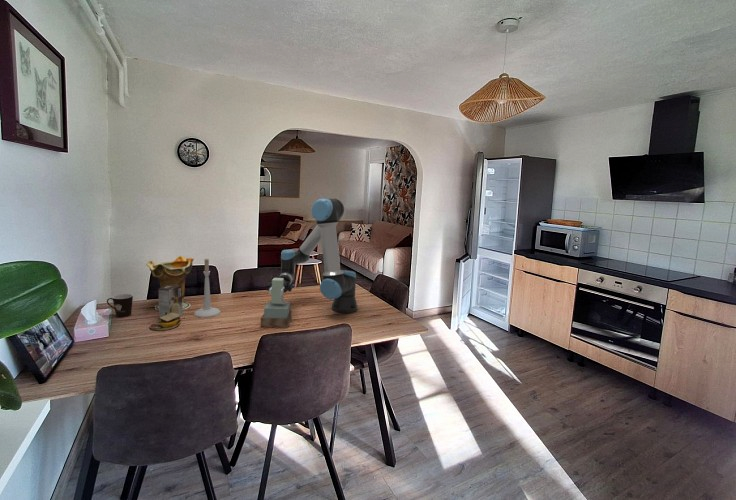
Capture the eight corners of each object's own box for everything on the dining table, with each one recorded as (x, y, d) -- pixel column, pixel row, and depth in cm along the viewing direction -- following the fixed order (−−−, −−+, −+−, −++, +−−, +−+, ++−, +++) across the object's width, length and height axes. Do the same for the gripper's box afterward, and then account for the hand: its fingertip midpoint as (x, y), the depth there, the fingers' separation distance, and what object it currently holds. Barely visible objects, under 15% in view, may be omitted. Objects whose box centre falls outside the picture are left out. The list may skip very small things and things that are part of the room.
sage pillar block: (283, 300, 185) (283, 278, 184) (281, 303, 180) (282, 280, 179) (273, 300, 185) (274, 277, 183) (271, 303, 180) (271, 280, 178)
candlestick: (210, 318, 185) (209, 261, 180) (188, 315, 187) (187, 259, 183) (225, 311, 197) (224, 257, 193) (204, 308, 200) (203, 255, 195)
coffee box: (172, 313, 189) (171, 284, 186) (183, 315, 187) (182, 285, 185) (158, 319, 180) (157, 288, 177) (170, 321, 179) (169, 289, 176)
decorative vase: (138, 308, 192) (139, 256, 189) (175, 300, 213) (176, 253, 210) (166, 315, 185) (167, 261, 182) (202, 306, 206) (203, 257, 203)
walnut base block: (291, 319, 191) (291, 310, 191) (287, 328, 179) (287, 319, 178) (266, 318, 191) (266, 309, 190) (260, 327, 178) (260, 318, 177)
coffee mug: (137, 314, 185) (136, 295, 183) (120, 319, 177) (119, 299, 175) (123, 310, 190) (122, 292, 188) (105, 314, 182) (104, 295, 180)
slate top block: (289, 311, 189) (289, 302, 189) (286, 318, 178) (286, 308, 178) (268, 310, 188) (268, 301, 188) (264, 318, 178) (264, 308, 177)
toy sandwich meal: (145, 326, 171) (144, 317, 170) (174, 319, 182) (174, 310, 181) (156, 333, 163) (156, 323, 163) (186, 326, 174) (186, 316, 173)
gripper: (300, 288, 201) (293, 300, 178) (267, 286, 200) (256, 299, 177) (300, 275, 199) (294, 285, 176) (268, 273, 198) (257, 284, 175)
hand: (275, 292), depth 177 cm, fingers closed on sage pillar block, 5 cm apart
